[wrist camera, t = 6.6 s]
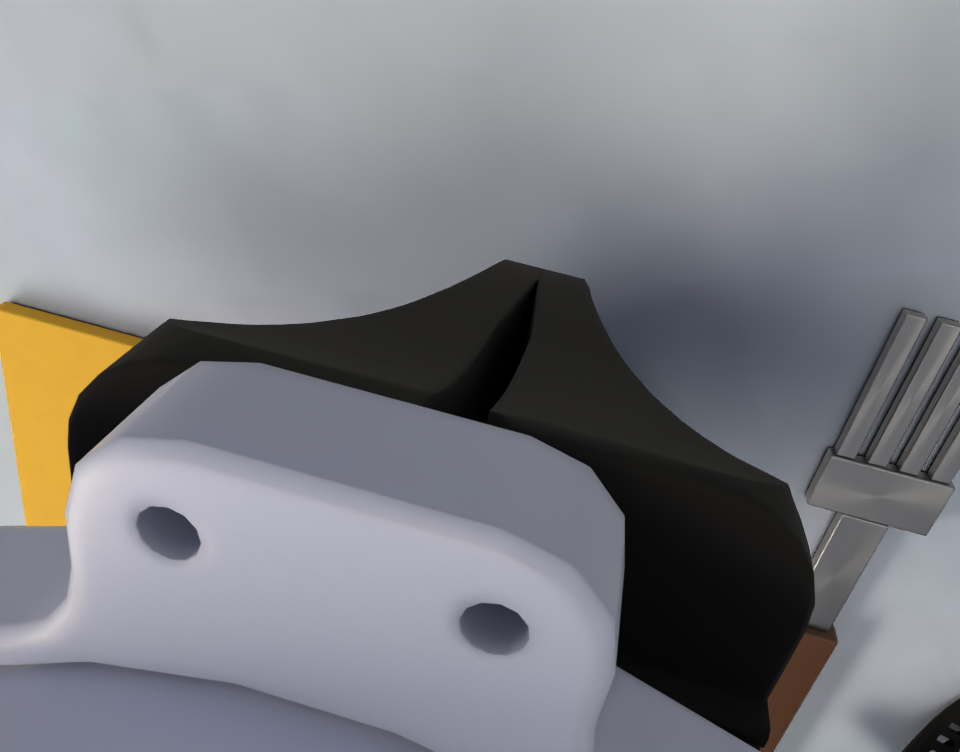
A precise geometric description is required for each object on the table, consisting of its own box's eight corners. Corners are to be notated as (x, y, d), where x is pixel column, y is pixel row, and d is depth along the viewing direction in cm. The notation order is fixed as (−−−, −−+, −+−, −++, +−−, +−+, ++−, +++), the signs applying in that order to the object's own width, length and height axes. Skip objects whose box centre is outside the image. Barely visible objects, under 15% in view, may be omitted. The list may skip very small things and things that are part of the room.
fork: (721, 857, 22) (722, 876, 22) (637, 832, 22) (637, 850, 22) (1035, 340, 14) (1047, 354, 13) (897, 306, 14) (904, 319, 13)
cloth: (266, 681, 22) (259, 694, 22) (49, 614, 23) (39, 626, 23) (283, 376, 17) (275, 386, 17) (5, 300, 18) (-9, 308, 18)
